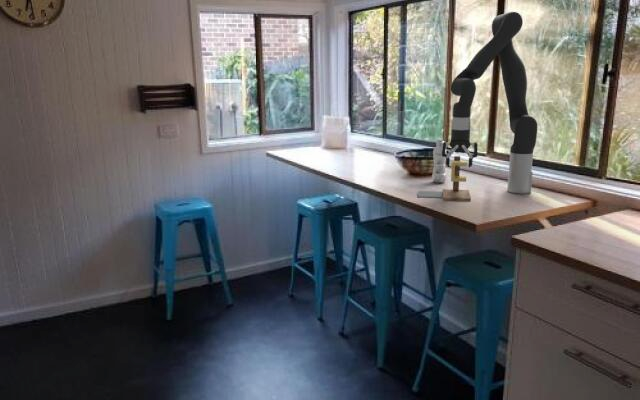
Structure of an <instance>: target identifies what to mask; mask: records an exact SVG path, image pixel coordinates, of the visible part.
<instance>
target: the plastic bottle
mask: <svg viewBox="0 0 640 400" xmlns="http://www.w3.org/2000/svg"><path fill="white" fill-rule="evenodd" d="M443 142H445V140H436V141H435V145H436V146H435V147H434V149H433V150H432V156H433V170H432V173H431V174H432V175H431V180H432V182H433V183H437V184H441V183H445V182H446V179H447V174H446V157H443V156H442V148H443ZM445 154H448V153H447V149H446V150H445Z"/></svg>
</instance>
